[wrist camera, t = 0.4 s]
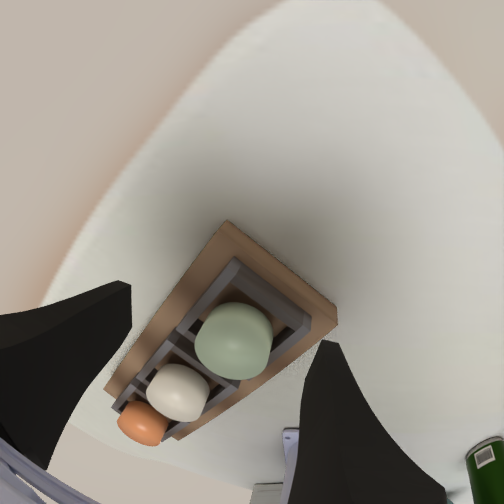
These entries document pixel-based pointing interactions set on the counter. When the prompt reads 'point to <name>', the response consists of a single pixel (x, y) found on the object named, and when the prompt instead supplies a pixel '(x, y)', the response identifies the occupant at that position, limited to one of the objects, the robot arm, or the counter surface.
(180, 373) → the cream button
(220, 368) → the sage button
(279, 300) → the button board
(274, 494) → the supplement box
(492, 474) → the beer can
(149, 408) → the terracotta button
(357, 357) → the counter surface
